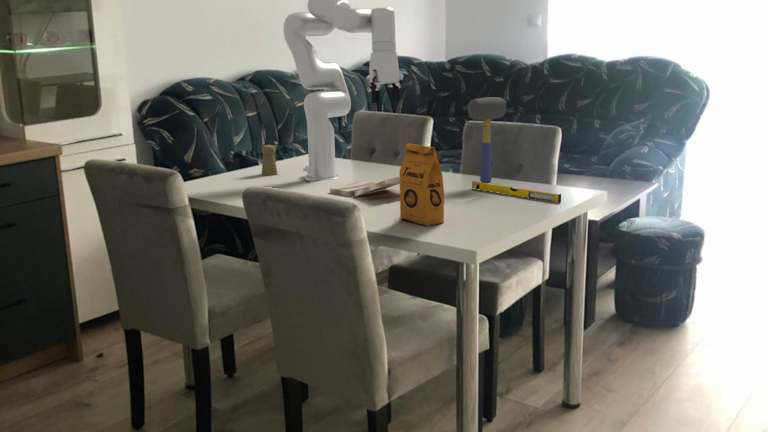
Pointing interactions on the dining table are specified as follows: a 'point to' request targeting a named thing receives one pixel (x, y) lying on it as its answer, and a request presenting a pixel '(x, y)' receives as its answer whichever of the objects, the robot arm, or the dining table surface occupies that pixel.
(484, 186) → the spirit level
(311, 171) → the robot arm
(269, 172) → the cork
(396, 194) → the floor board
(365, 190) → the ash plank
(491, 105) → the rubber mallet
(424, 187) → the coffee package
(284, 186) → the dining table surface
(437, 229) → the dining table surface
